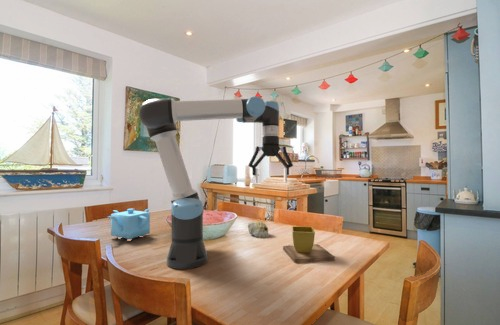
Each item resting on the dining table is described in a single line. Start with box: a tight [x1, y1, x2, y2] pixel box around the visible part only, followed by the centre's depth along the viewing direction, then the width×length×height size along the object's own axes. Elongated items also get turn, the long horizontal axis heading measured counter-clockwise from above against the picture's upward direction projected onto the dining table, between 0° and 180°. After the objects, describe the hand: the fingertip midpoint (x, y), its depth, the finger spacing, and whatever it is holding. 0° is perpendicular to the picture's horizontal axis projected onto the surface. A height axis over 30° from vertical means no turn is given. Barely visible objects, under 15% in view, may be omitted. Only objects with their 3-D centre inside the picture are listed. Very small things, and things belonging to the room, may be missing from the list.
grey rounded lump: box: [247, 221, 269, 239], centre depth 139 cm, size 10×10×10 cm
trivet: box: [282, 243, 336, 264], centre depth 109 cm, size 16×16×2 cm
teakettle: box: [107, 208, 151, 239], centre depth 135 cm, size 19×19×15 cm
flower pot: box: [291, 225, 316, 253], centre depth 109 cm, size 9×9×9 cm
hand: (270, 182), depth 121 cm, fingers open, 13 cm apart
